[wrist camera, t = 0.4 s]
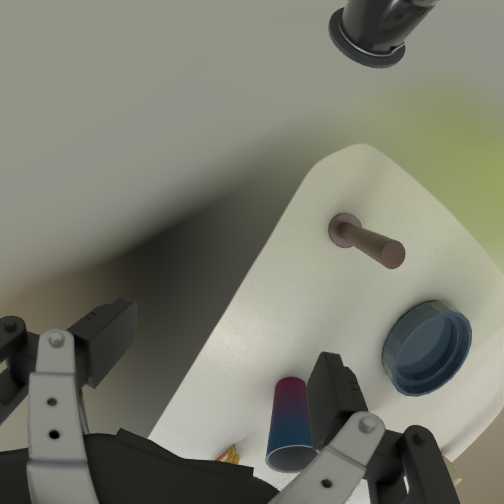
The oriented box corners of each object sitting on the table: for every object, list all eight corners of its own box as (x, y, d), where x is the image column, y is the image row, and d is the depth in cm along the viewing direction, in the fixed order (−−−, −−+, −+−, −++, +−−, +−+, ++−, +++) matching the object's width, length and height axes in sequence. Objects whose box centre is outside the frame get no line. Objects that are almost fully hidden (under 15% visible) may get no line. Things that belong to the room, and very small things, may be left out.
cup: (289, 409, 41) (290, 478, 26) (260, 388, 40) (253, 460, 26) (320, 387, 40) (333, 457, 25) (292, 365, 39) (297, 437, 24)
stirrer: (333, 209, 34) (378, 218, 19) (363, 219, 34) (423, 236, 18) (324, 241, 35) (359, 274, 20) (354, 250, 35) (405, 288, 19)
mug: (409, 467, 44) (421, 499, 32) (440, 444, 42) (456, 476, 30) (425, 472, 44) (436, 501, 33) (452, 452, 42) (467, 479, 31)
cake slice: (209, 465, 46) (202, 489, 39) (233, 443, 44) (228, 469, 37) (223, 471, 46) (219, 494, 39) (250, 449, 44) (246, 475, 37)
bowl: (406, 290, 35) (421, 302, 31) (468, 309, 35) (484, 320, 30) (366, 375, 39) (374, 393, 34) (431, 382, 38) (442, 397, 33)
